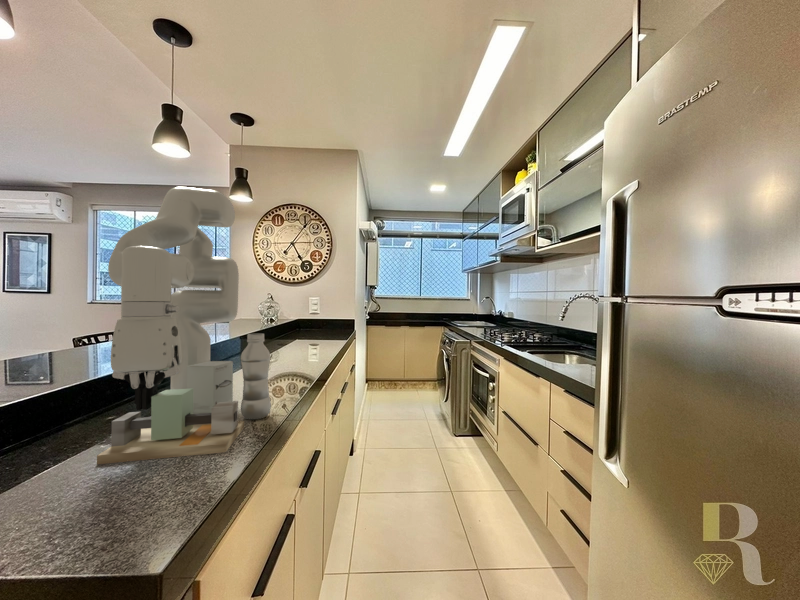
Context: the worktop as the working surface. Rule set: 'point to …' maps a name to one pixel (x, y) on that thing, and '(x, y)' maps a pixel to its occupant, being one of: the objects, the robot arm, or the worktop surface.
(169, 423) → the pale green block
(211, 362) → the supplement box
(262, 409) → the plastic bottle
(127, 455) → the cable board
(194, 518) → the worktop surface
